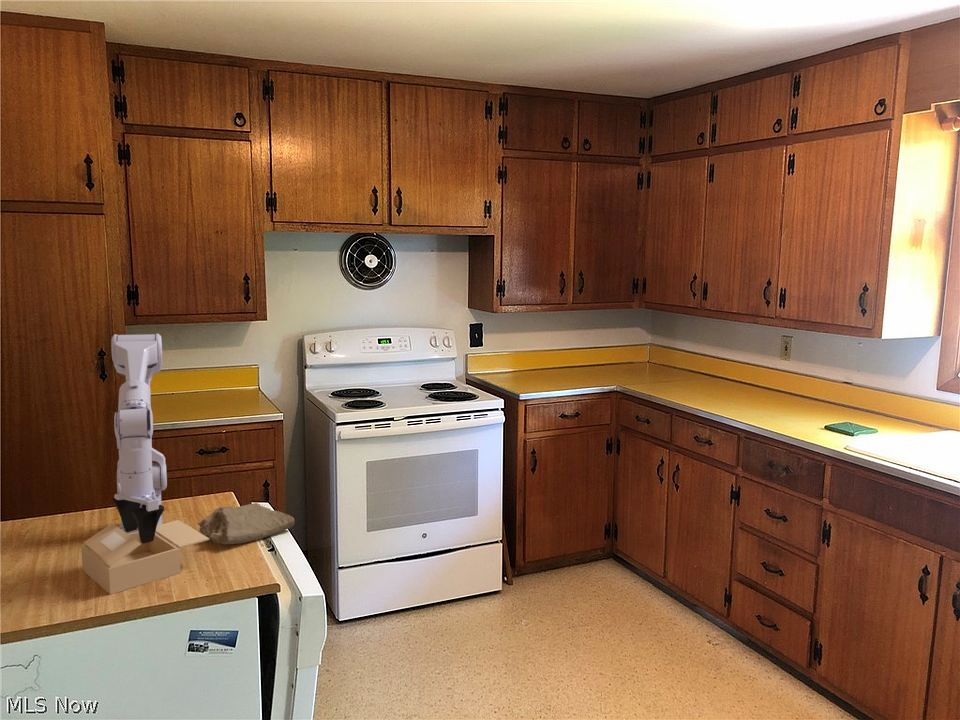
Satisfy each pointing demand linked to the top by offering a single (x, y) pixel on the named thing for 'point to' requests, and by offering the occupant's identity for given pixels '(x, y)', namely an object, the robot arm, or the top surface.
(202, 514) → the top surface
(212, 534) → the artifact
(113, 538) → the cardboard box flap
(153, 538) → the robot arm
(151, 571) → the carton
